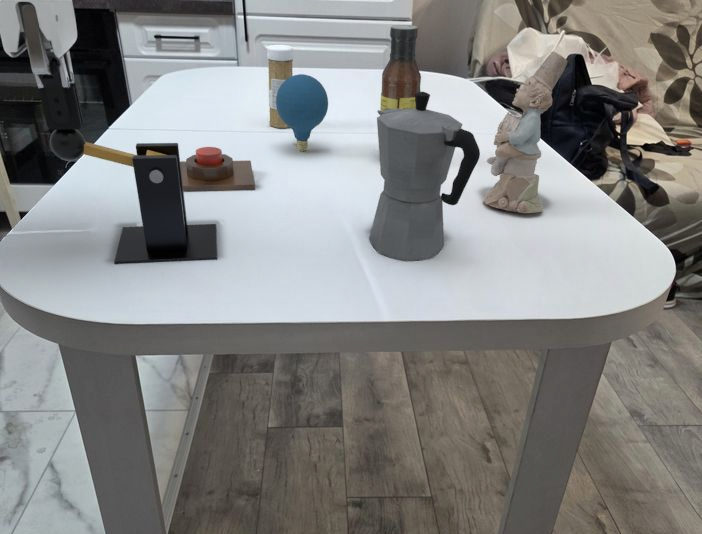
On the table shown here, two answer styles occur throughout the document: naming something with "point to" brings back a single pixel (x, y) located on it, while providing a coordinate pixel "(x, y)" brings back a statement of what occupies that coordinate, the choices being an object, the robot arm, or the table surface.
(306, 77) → the light bulb
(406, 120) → the coffeepot
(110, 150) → the switch lever
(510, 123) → the figurine
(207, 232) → the lamp switch
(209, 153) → the lamp button
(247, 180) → the button block
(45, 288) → the table surface
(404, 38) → the sauce bottle
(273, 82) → the sprinkles bottle
